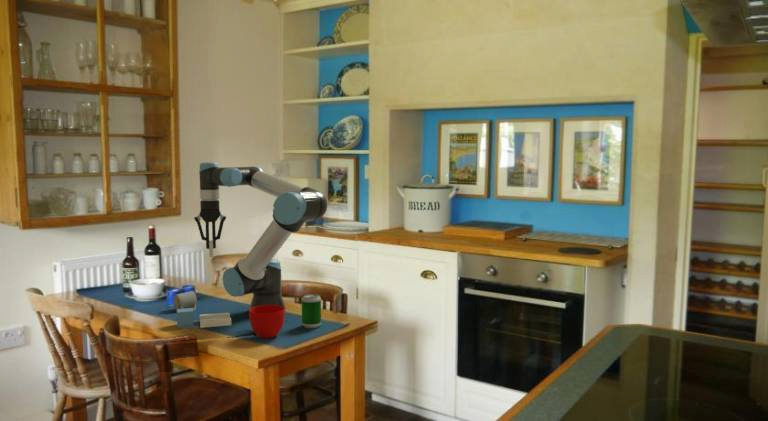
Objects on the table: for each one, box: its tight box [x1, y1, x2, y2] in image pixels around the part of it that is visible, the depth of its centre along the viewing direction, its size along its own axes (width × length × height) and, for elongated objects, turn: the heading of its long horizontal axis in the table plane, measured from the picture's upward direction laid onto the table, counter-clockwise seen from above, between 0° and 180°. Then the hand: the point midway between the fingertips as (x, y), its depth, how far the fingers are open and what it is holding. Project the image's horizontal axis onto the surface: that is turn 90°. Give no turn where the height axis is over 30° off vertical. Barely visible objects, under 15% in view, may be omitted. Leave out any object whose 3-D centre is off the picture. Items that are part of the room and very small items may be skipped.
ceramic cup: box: [248, 305, 286, 339], centre depth 235 cm, size 13×17×10 cm
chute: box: [180, 312, 232, 330], centre depth 246 cm, size 18×10×4 cm, turn 107°
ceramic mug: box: [173, 290, 198, 313], centre depth 271 cm, size 11×8×8 cm
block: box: [176, 308, 195, 329], centre depth 244 cm, size 6×6×6 cm
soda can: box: [301, 293, 322, 329], centre depth 246 cm, size 8×8×12 cm
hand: (211, 256), depth 263 cm, fingers closed
